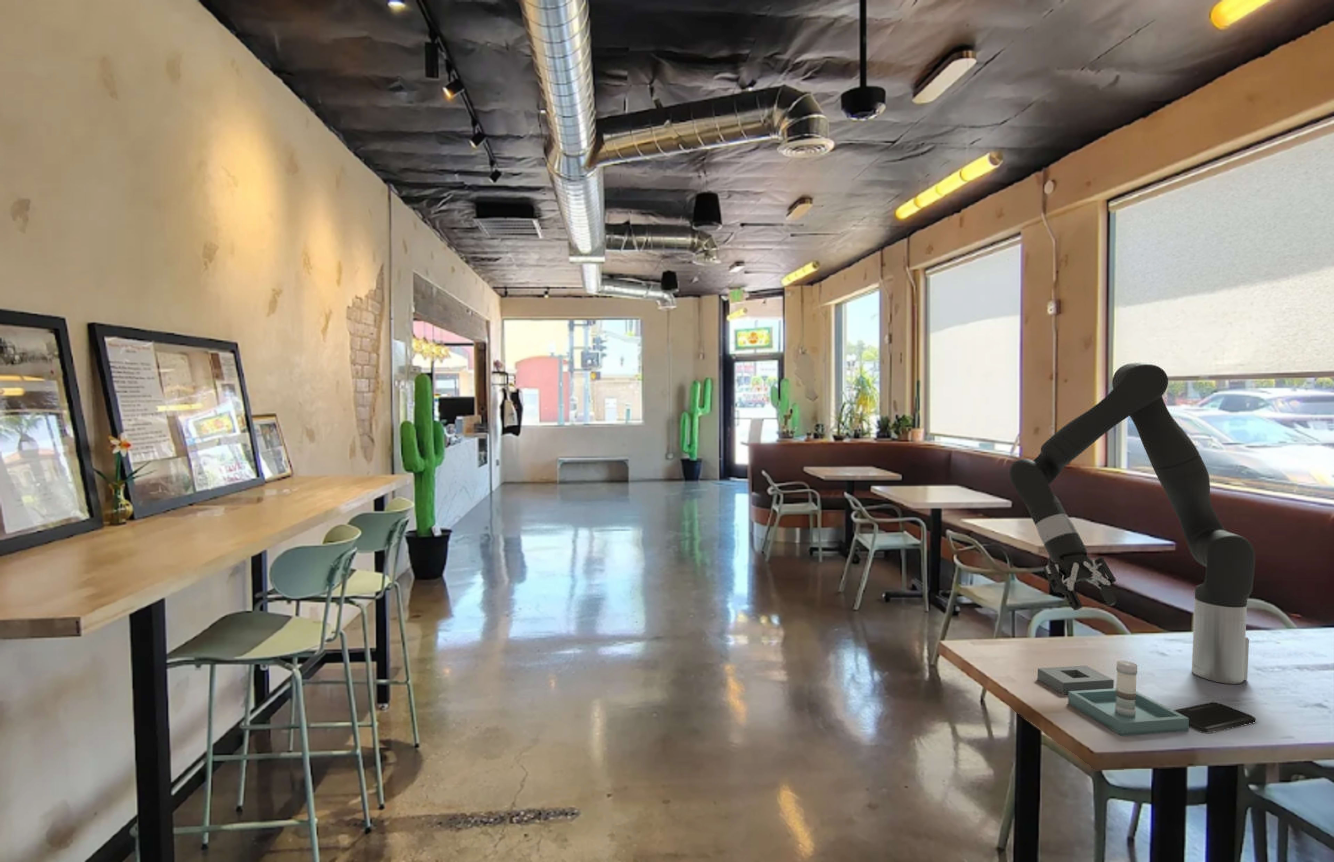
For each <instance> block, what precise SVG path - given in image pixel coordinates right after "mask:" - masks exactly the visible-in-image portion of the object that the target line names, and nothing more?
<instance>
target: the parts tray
mask: <svg viewBox="0 0 1334 862" xmlns="http://www.w3.org/2000/svg"><path fill="white" fill-rule="evenodd" d="M1067 695H1068V698H1067V699H1068V700H1067V703H1068V704H1069V705H1071V706H1072V707H1074V708H1076V710H1079V711H1080V712H1082V713H1083V714H1085V715H1087V716H1088V717H1091V718H1092V719H1093V720H1095V721H1097V722H1099V723H1100V724H1102V725H1103V726H1105V727H1107V728H1108V729H1110V730H1112V731H1113V732H1115V733H1117V734H1118V735H1121V736H1122V737H1128V736H1142V735H1156V734H1157V735H1158V734H1167V733H1170V732H1171V733H1181V732H1183V733H1185V732H1189V728H1190V727H1189V718H1187V717H1185V716H1183V715H1181V714H1180V713H1178V712H1176V711H1174V710H1175V709H1171V708H1169V707H1168V706H1167V705H1164V704H1162V703H1160V702H1158V701H1156V700H1154V699H1152V698H1151V697H1149V696H1146V695H1144V694H1142V693H1141V692H1139V691H1137V690H1136V701H1135V707H1136V716H1135V717H1124V716H1121V715H1119V714H1117V713H1116V712H1115V703H1116V687H1115V688H1114V687H1113V689H1097V690H1081V691H1069V692H1068V694H1067Z"/></svg>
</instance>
